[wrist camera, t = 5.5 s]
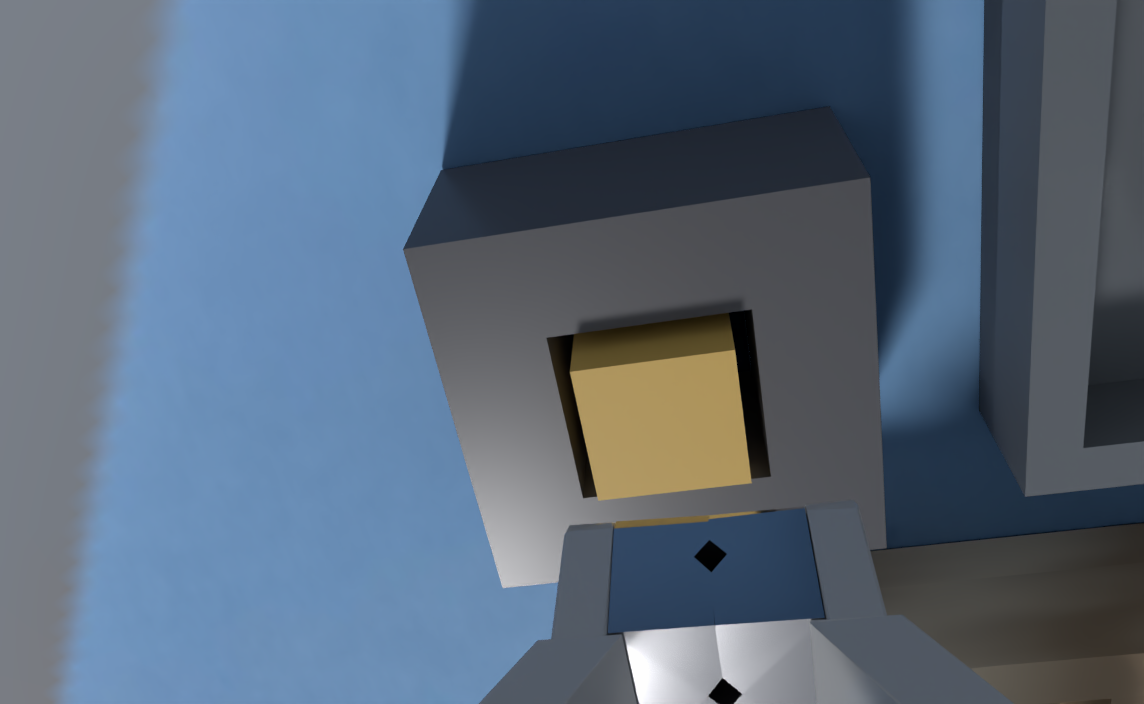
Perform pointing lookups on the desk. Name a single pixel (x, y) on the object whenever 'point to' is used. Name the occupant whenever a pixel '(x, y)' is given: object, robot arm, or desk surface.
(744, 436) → the button
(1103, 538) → the divided wooden tray
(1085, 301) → the square frame
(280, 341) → the desk surface
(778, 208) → the switch box
